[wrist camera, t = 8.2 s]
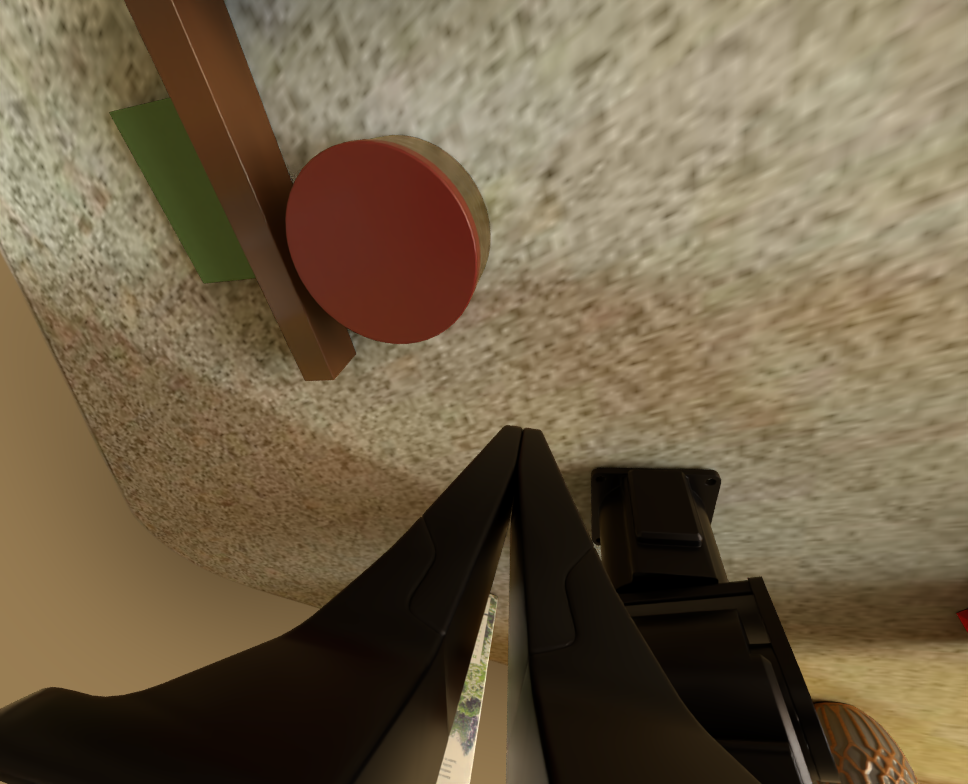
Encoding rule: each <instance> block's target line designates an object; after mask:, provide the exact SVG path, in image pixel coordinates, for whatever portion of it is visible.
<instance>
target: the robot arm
mask: <svg viewBox="0 0 968 784" xmlns="http://www.w3.org/2000/svg"><path fill="white" fill-rule="evenodd" d="M598 476H603V477H598ZM707 479H710V480H707ZM720 485H721V478H720V476H719V474H718V472H717V471H715V470H704V469H652V468H596V469H594V470H593V471H592V473H591V511H592V540H591V538H590V536H589V534H588V531H587V529H586V527H585V525H584V523H583V520H582V518H581V516H580V514H579V512H578V509H577V507H576V505H575V503H574V501H573V498H572V496H571V494H570V492H569V490H568V487H567V485H566V483H565V481H564V479H563V477H562V474H561V472H560V470H559V468H558V466H557V463H556V461H555V459H554V457H553V455H552V452H551V450H550V448H549V446H548V444H547V441H546V439H545V437H544V435H543V433H542V431H541V430H538V429H531V428H524V429H522V428H521V427H517V426H510V425H506V426H504V427H503V428H502V429H501V430H500V431H499V432H498V433H497V434H496V436H495V437H494V438H493V439H492V440H491V441H490V442H489V443H488V444H487V445H486V446H485V447H484V449H483V450H482V451H481V452H480V453H479V454H478V455H477V456H476V457H475V458H474V459H473V461H472V462H471V463H470V464H469V465H468V466H467V467H466V468H465V469H464V470H463V471H462V472H461V474H460V475H459V476H458V477H457V478H456V479H455V480H454V481H453V482H452V483H451V484H450V485H449V487H448V488H447V489H446V490H445V491H444V492H443V493H442V494H441V495H440V496H439V497H438V499H437V500H436V501H435V502H434V503H433V504H432V505H431V506H430V507H429V508H428V509H427V510H426V512H425V513H424V514H423V515H422V517H420V518H419V519H418V520H417V521H416V522H415V523H414V524H413V525H412V527H411V528H410V529H409V530H408V531H407V532H406V533H405V534H404V535H403V536H402V537H401V538H400V539H399V540H398V541H397V542H396V543H395V544H394V545H393V546H392V547H391V548H390V549H389V550H388V551H387V552H385V553H384V554H383V555H382V556H381V557H380V558H379V559H378V560H377V561H375V562H374V563H373V564H372V565H371V566H370V567H369V568H368V569H366V570H365V571H364V572H363V573H362V574H361V575H359V576H358V577H357V578H356V579H355V580H354V581H352V582H351V583H350V584H349V585H348V586H347V587H345V588H344V589H343V590H342V591H341V592H340V593H338V594H337V595H336V596H335V597H334V598H333V599H331V600H330V601H329V602H328V603H327V604H326V605H324V606H323V607H322V608H321V609H320V610H319V611H317V612H316V613H315V614H314V615H313V616H311V617H310V618H309V619H307V620H306V621H304V622H303V623H302V624H300V625H299V626H297V627H295V628H294V629H292V630H291V631H289V632H287V633H285V634H283V635H282V636H279V637H277V638H275V639H272V640H270V641H267V642H265V643H262V644H260V645H258V646H255V647H252V648H250V649H247V650H245V651H242V652H240V653H237V654H235V655H232V656H230V657H228V658H225V659H222V660H220V661H217V662H215V663H213V664H210V665H207V666H205V667H203V668H200V669H198V670H195V671H193V672H190V673H188V674H185V675H183V676H180V677H178V678H175V679H173V680H170V681H168V682H165V683H163V684H160V685H157V686H154V687H151V688H148V689H146V690H143V691H139V692H134V693H130V694H126V695H119V696H109V697H102V696H92V695H89V694H85V693H80V692H77V691H73V690H68V689H64V688H56V687H50V688H44V689H41V690H39V691H37V692H34V693H32V694H30V695H28V696H26V697H24V698H22V699H20V700H17V701H15V702H13V703H11V704H9V705H7V706H5V707H3V708H1V709H0V781H2V782H5V783H7V784H436V782H437V779H438V775H439V772H440V768H441V765H442V761H443V758H444V754H445V750H446V747H447V743H448V737H449V736H450V732H451V729H452V725H453V722H454V718H455V715H456V711H457V708H458V704H459V701H460V697H461V693H462V690H463V686H464V683H465V679H466V676H467V672H468V669H469V665H470V662H471V658H472V654H473V651H474V647H475V644H476V640H477V637H478V633H479V630H480V626H481V623H482V619H483V616H484V612H485V608H486V605H487V601H488V598H489V594H490V591H491V587H492V584H493V580H494V577H495V573H496V569H497V566H498V562H499V559H500V555H501V552H502V548H503V545H504V541H505V538H506V534H507V530H508V526H509V522H510V518H511V528H510V581H509V641H508V702H507V759H506V760H507V762H506V784H813V781H812V780H817V781H820V782H831V783H841V780H840V776H839V773H838V770H837V767H836V764H835V761H834V759H833V756H832V753H831V750H830V747H829V744H828V742H827V739H826V736H825V734H824V731H823V728H822V725H821V723H820V720H819V717H818V715H817V712H816V709H815V707H814V704H813V702H812V699H811V696H810V694H809V691H808V689H807V686H806V684H805V681H804V678H803V676H802V673H801V671H800V668H799V666H798V664H797V661H796V659H795V656H794V654H793V651H792V649H791V646H790V644H789V642H788V639H787V637H786V634H785V632H784V629H783V627H782V625H781V622H780V620H779V617H778V615H777V612H776V610H775V608H774V605H773V603H772V600H771V598H770V595H769V593H768V591H767V588H766V586H765V583H764V581H763V578H762V576H761V577H751V578H748V580H745V581H735V582H728V579H727V576H726V573H725V569H724V566H723V563H722V560H721V557H720V554H719V550H718V547H717V544H716V541H715V538H714V535H713V532H712V528H711V522H712V517H713V513H714V509H715V505H716V501H717V497H718V493H719V489H720ZM512 505H513V506H512ZM511 512H512V515H511ZM593 543H594V544H596V545H601V559H600V557H599V555H598V553H597V551H596V549H595V548H593V547H594V545H593ZM601 560H602V562H601Z"/></svg>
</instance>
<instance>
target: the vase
mask: <svg viewBox="0 0 968 784" xmlns="http://www.w3.org/2000/svg"><path fill="white" fill-rule="evenodd" d="M814 707H815V709H816V712H817V715H818V717H819V720H820V723H821V725H822V728H823V731H824V734H825V736H826V739H827V742H828V744H829V747H830V750H831V753H832V756H833V759H834V761H835V764H836V767H837V770H838V773H839V776H840V780H841V783H831V782H820V781H817V780H812V781H813V784H919V783H918V780H917V778H916V776H915V773H914V771H913V769H912V767H911V766H910V764H909V762H908V760H907V758H906V757H905V755H904V753H903V752H902V750H901V749H900V747H899V746H898V745H897V743H896V742H895V741H894V739H893V738H892V737H891V736H890V734H889V733H888V732H887V731H886V730H885V729H884V728H883V727H882V726H881V725H880V724H879V723H877V722H876V721H875V720H874V719H873V718H871V717H870V716H868V715H867V714H865V713H864V712H862V711H861V710H859V709H858V708H856V707H853V706H851V705H847V704H842V703H833V702H825V703H816V704H814Z"/></svg>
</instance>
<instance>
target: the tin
mask: <svg viewBox="0 0 968 784" xmlns="http://www.w3.org/2000/svg"><path fill="white" fill-rule="evenodd" d="M285 223H286V236H287V243H288V247H289V251H290V255H291V258H292V261H293V263H294V266H295V269H296V271H297V273H298V275H299V277H300V279H301V280H302V282H303V284H304V285H305V287H306V288H307V290H308V292H309V293H310V294H311V295H312V297H313V298H314V299H315V301H316V302H317V303H318V304H319V305H320V306H321V307H322V308H323V309H324V310H325V311H326V312H327V313H328V314H329V315H330V316H331V317H332V318H334V319H335V320H336V321H338V322H339V323H340V324H342V325H343V326H345V327H346V328H348V329H350V330H352V331H353V332H355V333H357V334H360V335H362V336H364V337H367V338H370V339H373V340H376V341H380V342H385V343H393V344H409V343H416V342H421V341H424V340H428V339H430V338H432V337H435V336H437V335H439V334H440V333H442V332H444V331H445V330H447V329H448V328H449V327H450V326H451V325H453V324H454V323H455V322H456V321H457V319H458V318H459V317H460V316H461V315H462V313H463V312H464V310H465V309H466V307H467V305H468V304H469V302H470V300H471V297H472V295H473V293H474V291H475V288H476V285H477V283H478V281H479V279H480V277H481V275H482V273H483V271H484V269H485V266H486V263H487V260H488V256H489V250H490V224H489V218H488V214H487V209H486V206H485V204H484V201H483V198H482V196H481V194H480V192H479V190H478V188H477V186H476V184H475V183H474V181H473V180H472V178H471V177H470V175H469V174H468V173H467V171H466V170H465V169H464V168H463V167H462V165H461V164H460V163H459V162H457V161H456V160H455V159H454V158H453V157H452V156H451V155H449V154H448V153H447V152H445V151H444V150H442V149H441V148H439V147H437V146H436V145H434V144H432V143H430V142H427V141H425V140H422V139H419V138H416V137H410V136H405V135H389V136H381V137H377V138H372V139H362V140H354V141H348V142H344V143H341V144H337V145H334V146H331V147H329V148H327V149H326V150H324V151H322V152H320V153H319V154H317V155H316V156H315V157H314V158H312V159H311V160H310V161H309V162H308V163H307V164H306V165H305V166H304V168H303V169H302V170H301V172H300V173H299V175H298V176H297V178H296V179H295V182H294V184H293V186H292V189H291V191H290V194H289V198H288V202H287V208H286V217H285Z"/></svg>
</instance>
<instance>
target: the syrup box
mask: <svg viewBox="0 0 968 784" xmlns="http://www.w3.org/2000/svg"><path fill="white" fill-rule="evenodd" d="M497 601H498V597H497V596H494V595H491V594H489V598H488V601H487V605H486V608H485V612H484V616H483V619H482V623H481V626H480V630H479V633H478V637H477V640H476V644H475V647H474V651H473V654H472V658H471V662H470V665H469V669H468V672H467V676H466V679H465V683H464V686H463V690H462V693H461V697H460V701H459V704H458V708H457V711H456V715H455V718H454V722H453V725H452V729H451V732H450V736H449V737H448V743H447V747H446V750H445V754H444V758H443V761H442V765H441V768H440V772H439V775H438V779H437V782H436V784H470V778H471V771H472V765H473V758H474V751H475V745H476V738H477V732H478V726H479V720H480V713H481V707H482V700H483V693H484V687H485V681H486V673H487V667H488V660H489V654H490V647H491V641H492V634H493V627H494V621H495V614H496V608H497Z"/></svg>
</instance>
